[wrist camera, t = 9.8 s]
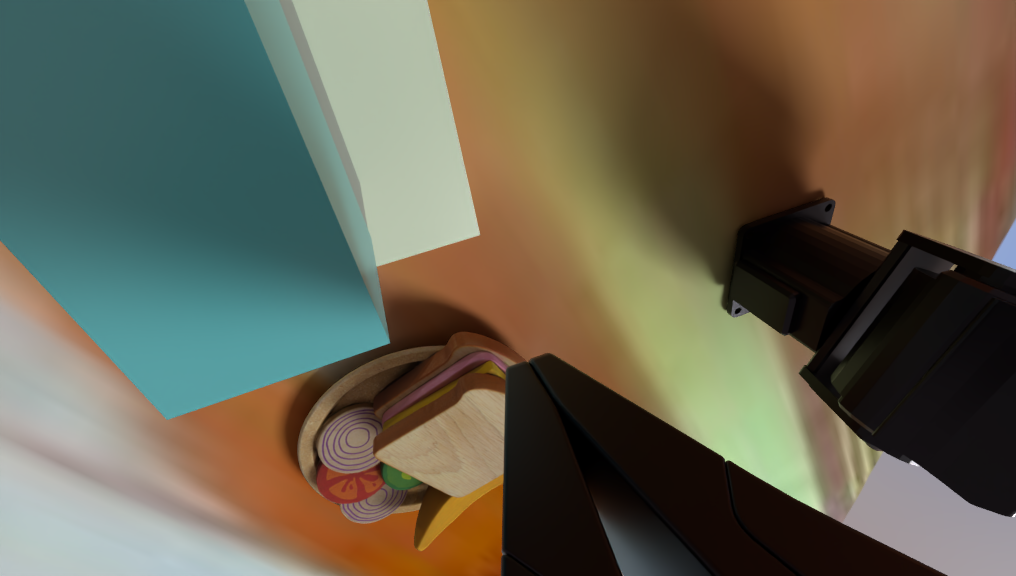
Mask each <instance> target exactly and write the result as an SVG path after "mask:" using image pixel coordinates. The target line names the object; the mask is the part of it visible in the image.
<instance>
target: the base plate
mask: <svg viewBox="0 0 1016 576" xmlns="http://www.w3.org/2000/svg"><path fill="white" fill-rule="evenodd" d="M292 2H293V4H294V7H295V10H296V12H297V15H298V18H299V21H300V23H301V26H302V29H303V31H304V34H305V37H306V39H307V42H308V45H309V47H310V50H311V53H312V55H313V58H314V61H315V64H316V66H317V69H318V72H319V74H320V77H321V80H322V82H323V85H324V88H325V90H326V93H327V96H328V99H329V101H330V104H331V107H332V109H333V112H334V115H335V117H336V120H337V123H338V125H339V128H340V131H341V134H342V136H343V139H344V142H345V144H346V147H347V150H348V152H349V155H350V158H351V160H352V163H353V166H354V168H355V171H356V174H357V177H358V179H359V182H360V186H361V192H362V198H363V204H364V209H365V215H366V221H367V227H368V231H369V233H370V236H371V239H372V245H373V250H374V256H375V261H376V267H377V266H381V265H384V264H387V263H390V262H394V261H397V260H400V259H403V258H407V257H410V256H413V255H416V254H420V253H423V252H426V251H429V250H433V249H436V248H439V247H442V246H445V245H449V244H452V243H455V242H458V241H462V240H465V239H468V238H471V237H475V236H478V235H480V232H479V228H478V224H477V219H476V215H475V210H474V206H473V201H472V197H471V193H470V188H469V184H468V179H467V175H466V170H465V166H464V162H463V157H462V153H461V148H460V144H459V140H458V135H457V131H456V126H455V122H454V117H453V113H452V109H451V104H450V100H449V95H448V91H447V86H446V82H445V78H444V73H443V69H442V64H441V60H440V55H439V51H438V47H437V42H436V38H435V33H434V29H433V25H432V20H431V16H430V11H429V7H428V2H427V0H292Z"/></svg>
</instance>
